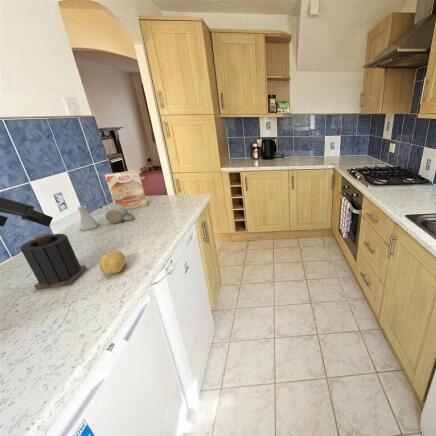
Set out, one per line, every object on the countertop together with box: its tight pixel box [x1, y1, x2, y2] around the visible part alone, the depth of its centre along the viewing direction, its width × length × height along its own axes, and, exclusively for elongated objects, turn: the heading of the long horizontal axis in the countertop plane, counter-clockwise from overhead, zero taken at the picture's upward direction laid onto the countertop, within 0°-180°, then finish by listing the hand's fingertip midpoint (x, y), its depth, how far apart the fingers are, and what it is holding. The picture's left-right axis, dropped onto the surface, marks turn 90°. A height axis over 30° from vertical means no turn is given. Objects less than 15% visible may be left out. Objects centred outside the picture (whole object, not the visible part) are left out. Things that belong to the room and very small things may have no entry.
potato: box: [98, 249, 127, 275], centre depth 80 cm, size 7×11×6 cm, turn 22°
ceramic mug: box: [105, 203, 135, 224], centre depth 119 cm, size 11×8×8 cm
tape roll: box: [19, 233, 81, 285], centre depth 74 cm, size 10×10×12 cm
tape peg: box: [33, 232, 87, 290], centre depth 74 cm, size 9×9×16 cm
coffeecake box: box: [104, 169, 148, 210], centre depth 134 cm, size 15×7×20 cm, turn 132°
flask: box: [77, 205, 100, 231], centre depth 112 cm, size 7×7×10 cm
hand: (27, 221), depth 68 cm, fingers open, 13 cm apart
